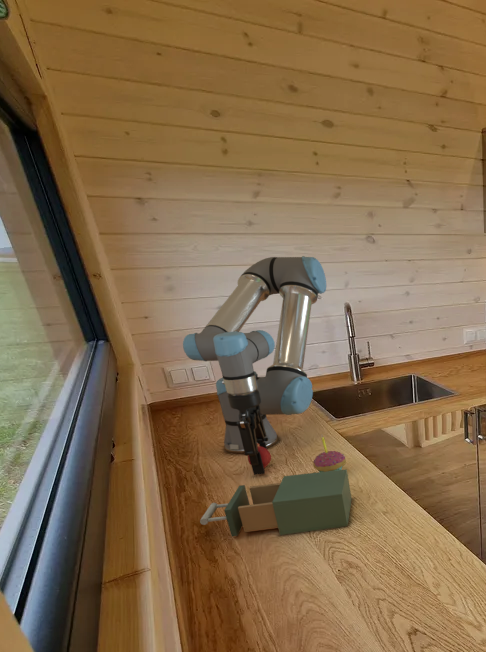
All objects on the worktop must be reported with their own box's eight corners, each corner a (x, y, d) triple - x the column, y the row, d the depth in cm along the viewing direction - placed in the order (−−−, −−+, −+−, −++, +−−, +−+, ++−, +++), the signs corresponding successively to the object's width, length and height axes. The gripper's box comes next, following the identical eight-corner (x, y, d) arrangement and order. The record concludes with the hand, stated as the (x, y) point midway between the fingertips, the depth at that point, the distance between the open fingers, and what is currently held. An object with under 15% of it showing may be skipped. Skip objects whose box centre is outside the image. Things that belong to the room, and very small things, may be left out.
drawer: (200, 540, 107) (191, 514, 104) (217, 513, 117) (210, 488, 114) (296, 528, 110) (290, 502, 108) (304, 503, 121) (299, 478, 118)
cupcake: (310, 476, 136) (302, 437, 131) (338, 466, 141) (332, 428, 137) (325, 486, 130) (317, 445, 126) (354, 475, 136) (347, 435, 131)
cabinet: (279, 535, 110) (272, 502, 106) (290, 506, 121) (283, 476, 118) (347, 526, 112) (341, 493, 109) (351, 499, 124) (346, 469, 120)
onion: (264, 475, 136) (258, 449, 133) (246, 473, 137) (239, 447, 134) (277, 465, 141) (271, 440, 138) (260, 463, 142) (254, 439, 139)
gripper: (237, 382, 138) (256, 455, 147) (216, 404, 121) (238, 486, 130) (266, 380, 139) (282, 453, 148) (248, 401, 122) (268, 482, 131)
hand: (262, 468), depth 139 cm, fingers closed on onion, 6 cm apart
